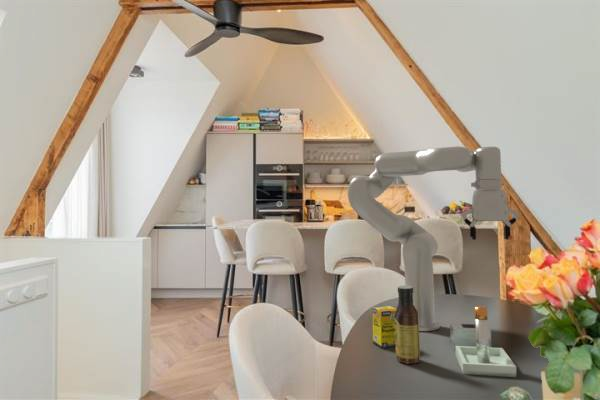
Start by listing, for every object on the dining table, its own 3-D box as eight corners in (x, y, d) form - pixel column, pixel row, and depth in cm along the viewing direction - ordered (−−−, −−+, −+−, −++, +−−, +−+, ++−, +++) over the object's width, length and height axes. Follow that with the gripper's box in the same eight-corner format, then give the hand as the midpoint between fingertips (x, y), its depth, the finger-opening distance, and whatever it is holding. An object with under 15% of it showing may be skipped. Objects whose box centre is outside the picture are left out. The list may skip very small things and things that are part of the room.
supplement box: (381, 349, 126) (380, 311, 126) (372, 343, 132) (371, 306, 132) (400, 347, 127) (399, 309, 128) (390, 341, 133) (389, 305, 133)
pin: (478, 363, 110) (475, 308, 111) (476, 359, 113) (473, 305, 114) (491, 364, 109) (487, 308, 110) (488, 360, 112) (485, 305, 113)
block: (453, 350, 123) (453, 329, 123) (450, 341, 131) (450, 321, 131) (491, 352, 121) (490, 330, 121) (485, 343, 129) (485, 323, 129)
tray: (463, 373, 106) (462, 363, 106) (455, 354, 119) (455, 345, 119) (516, 377, 103) (516, 366, 103) (502, 357, 117) (502, 348, 117)
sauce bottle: (402, 355, 120) (400, 283, 120) (424, 360, 116) (422, 285, 116) (391, 362, 115) (389, 287, 115) (413, 367, 111) (411, 289, 111)
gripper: (461, 186, 137) (462, 240, 137) (521, 184, 133) (522, 240, 133) (458, 187, 144) (459, 238, 144) (514, 185, 140) (516, 238, 140)
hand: (490, 239), depth 138 cm, fingers open, 9 cm apart
